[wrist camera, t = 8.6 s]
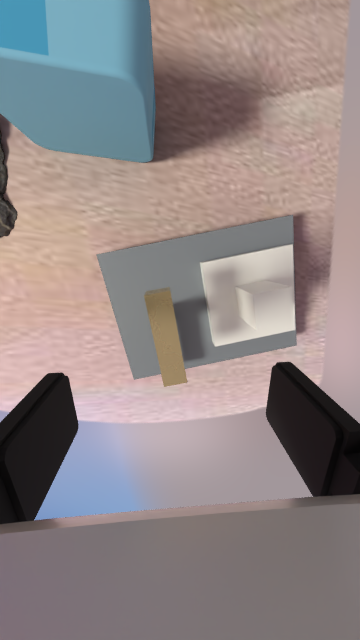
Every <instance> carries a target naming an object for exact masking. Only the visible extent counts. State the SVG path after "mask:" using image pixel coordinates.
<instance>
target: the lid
mask: <svg viewBox="0 0 360 640" xmlns="http://www.w3.org/2000/svg"><path fill="white" fill-rule="evenodd" d="M200 267H201V273H202V279H203V286H204V292H205V298H206V304H207V311H208V317H209V323H210V330H211V336H212V342H213V344H214V346H215V347H216V346H221V345H226V344H231V343H235V342H240V341H245V340H250V339H254V338H259V337H264V336H269V335H273V334H278V333H283V332H288V331H293V330H295V299H294V264H293V244H291V245H283V246H278V247H273V248H268V249H263V250H258V251H254V252H249V253H244V254H239V255H234V256H229V257H224V258H219V259H214V260H210V261H205V262H200Z"/></svg>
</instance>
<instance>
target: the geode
mask: <svg viewBox="0 0 360 640" xmlns="http://www.w3.org/2000/svg"><path fill="white" fill-rule="evenodd" d="M1 136H2V134H1V131H0V236H8V235H9V234H10V230H12V229H13V228H14V224H15V220H16V219H17V211H16V209H15V208H14V207H13V205H11V204H10V203H9V202H8V200H7V201H5V200H4V198H3V194H4V193H5V190H6V186H7V179H8V177H7V174H6V172H7V171H6V167H5V165H4V158H5V155H4V152H3V150H2V144H1Z"/></svg>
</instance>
